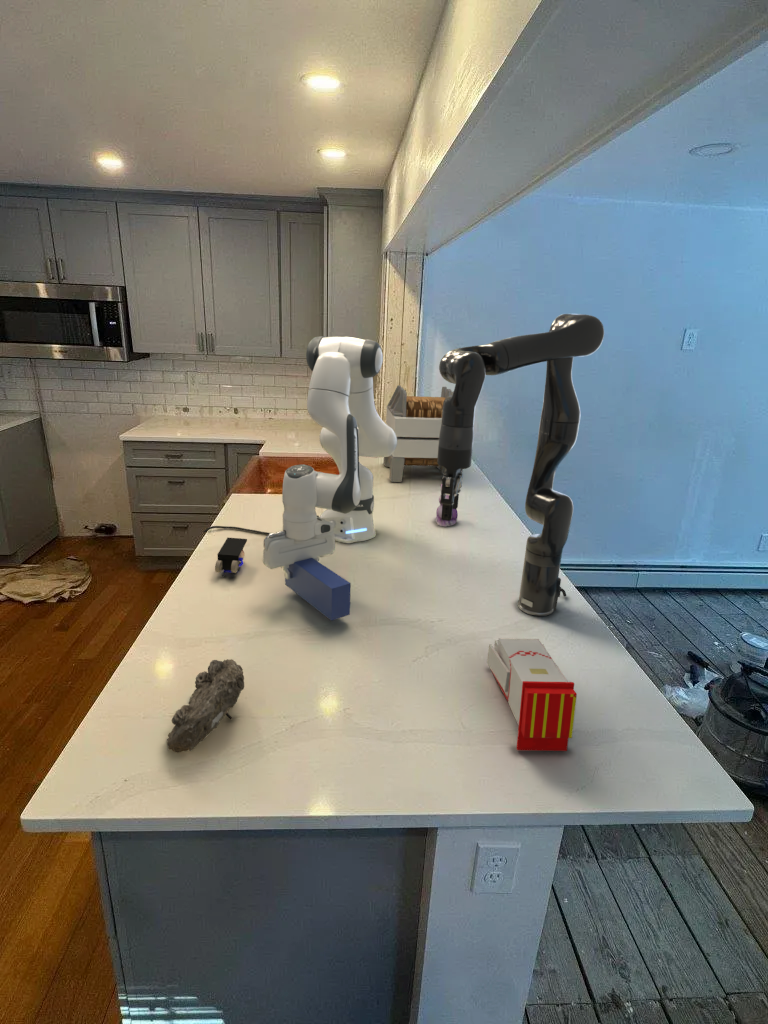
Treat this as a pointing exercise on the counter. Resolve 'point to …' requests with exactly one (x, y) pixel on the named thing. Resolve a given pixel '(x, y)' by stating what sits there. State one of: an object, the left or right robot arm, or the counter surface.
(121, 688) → the counter surface
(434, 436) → the transformer
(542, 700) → the toy
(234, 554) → the figurine character
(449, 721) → the counter surface
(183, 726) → the fossil
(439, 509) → the figurine
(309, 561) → the block
